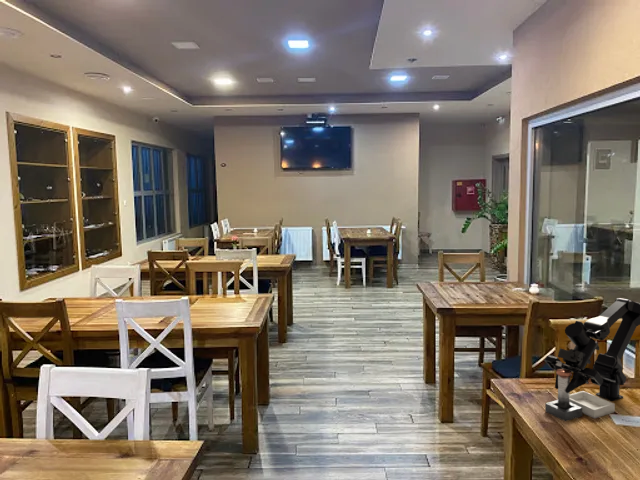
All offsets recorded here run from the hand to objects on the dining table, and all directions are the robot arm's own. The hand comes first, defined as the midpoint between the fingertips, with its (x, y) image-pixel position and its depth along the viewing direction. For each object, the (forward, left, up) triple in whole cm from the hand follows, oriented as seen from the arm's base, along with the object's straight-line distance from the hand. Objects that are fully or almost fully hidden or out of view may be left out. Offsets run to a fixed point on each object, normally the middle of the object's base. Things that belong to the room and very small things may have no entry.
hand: (561, 390), depth 162 cm
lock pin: (-1, 0, -7) cm, 7 cm away
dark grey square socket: (-1, 0, -9) cm, 9 cm away
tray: (-12, +1, -9) cm, 15 cm away
